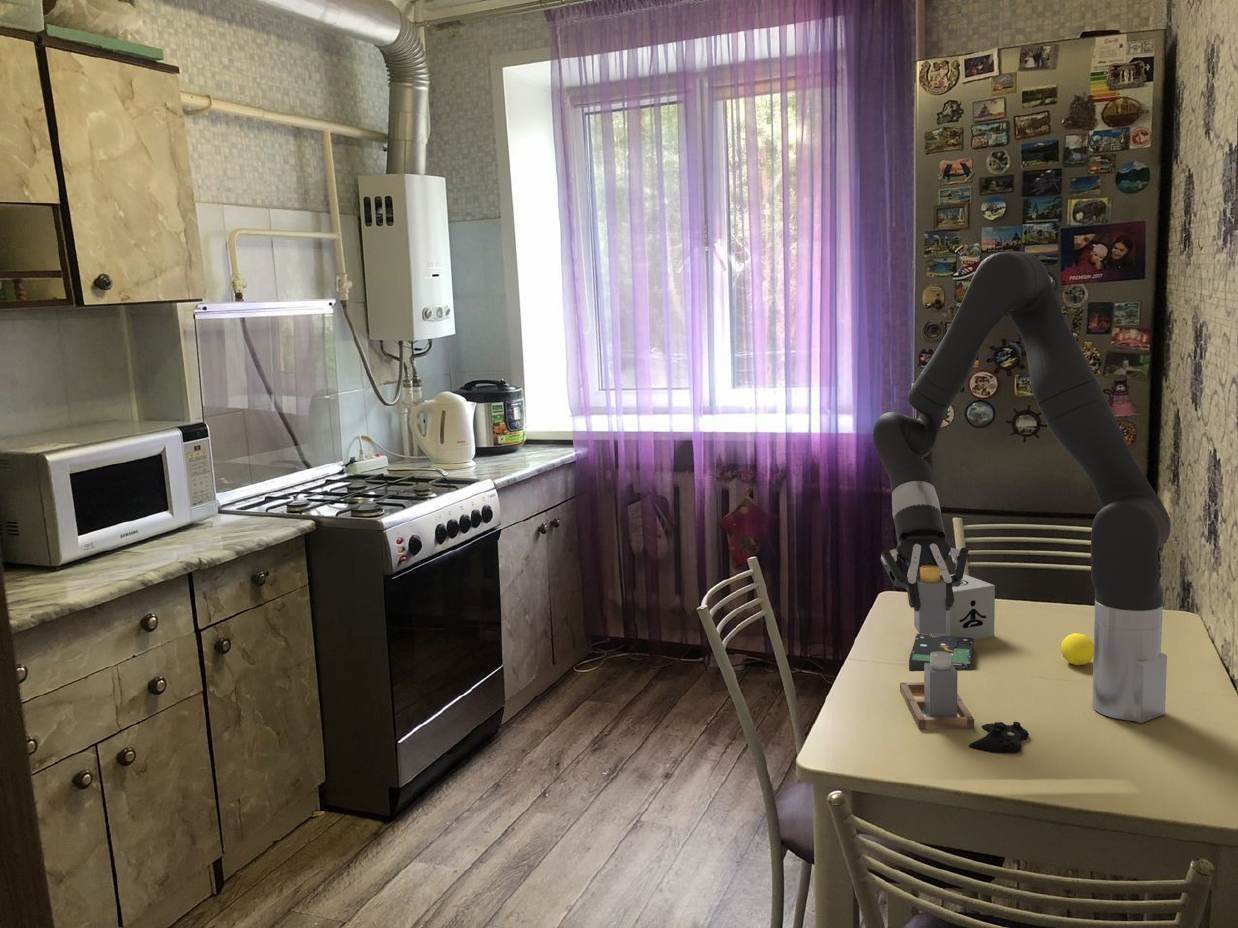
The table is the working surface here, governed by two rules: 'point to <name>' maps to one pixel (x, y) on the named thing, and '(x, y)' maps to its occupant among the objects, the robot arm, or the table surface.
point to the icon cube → (971, 610)
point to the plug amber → (931, 601)
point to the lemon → (1077, 649)
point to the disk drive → (955, 646)
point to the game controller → (1001, 738)
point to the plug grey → (940, 686)
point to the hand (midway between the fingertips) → (932, 608)
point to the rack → (915, 703)
